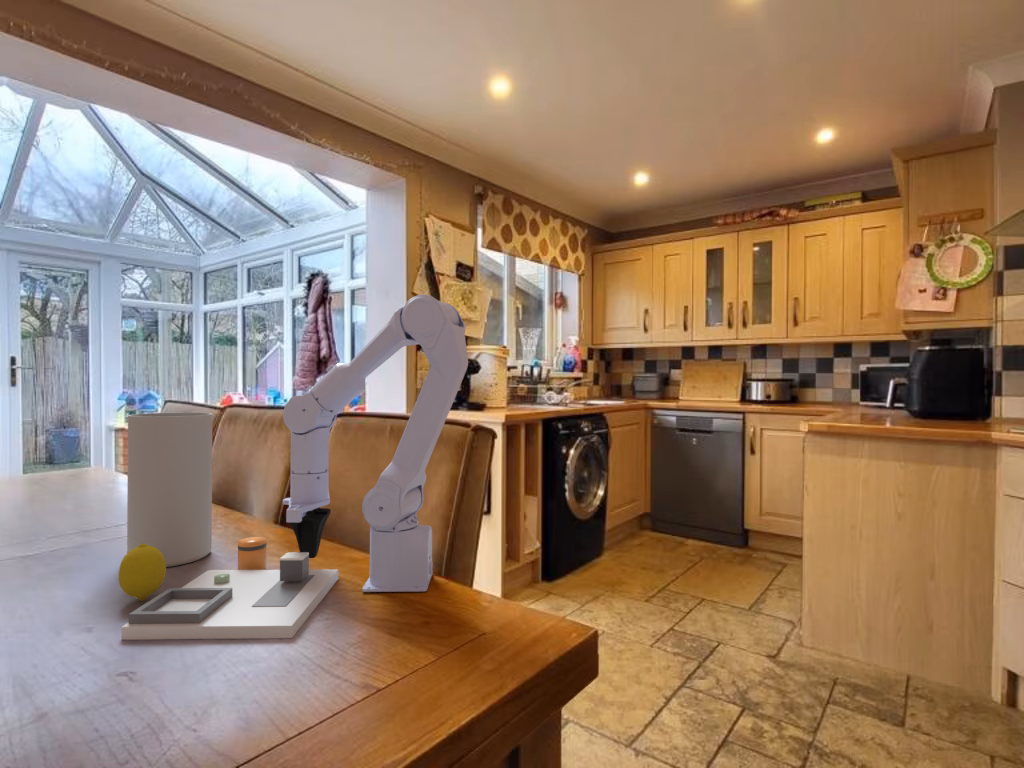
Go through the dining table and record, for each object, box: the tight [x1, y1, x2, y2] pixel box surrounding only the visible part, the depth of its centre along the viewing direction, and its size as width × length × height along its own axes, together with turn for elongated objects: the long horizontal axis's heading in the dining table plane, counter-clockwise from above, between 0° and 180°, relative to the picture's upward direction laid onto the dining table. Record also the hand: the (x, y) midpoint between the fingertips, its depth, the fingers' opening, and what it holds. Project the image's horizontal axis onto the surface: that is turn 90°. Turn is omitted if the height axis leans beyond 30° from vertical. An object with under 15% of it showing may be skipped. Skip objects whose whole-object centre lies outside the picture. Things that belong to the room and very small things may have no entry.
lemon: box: [118, 543, 167, 601], centre depth 77 cm, size 6×6×8 cm
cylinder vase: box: [126, 412, 213, 568], centre depth 96 cm, size 12×12×25 cm
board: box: [121, 568, 339, 641], centre depth 76 cm, size 20×20×3 cm
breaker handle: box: [279, 551, 310, 581], centre depth 81 cm, size 3×3×3 cm
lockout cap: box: [237, 536, 267, 570], centre depth 90 cm, size 4×4×5 cm
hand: (309, 556), depth 88 cm, fingers closed
